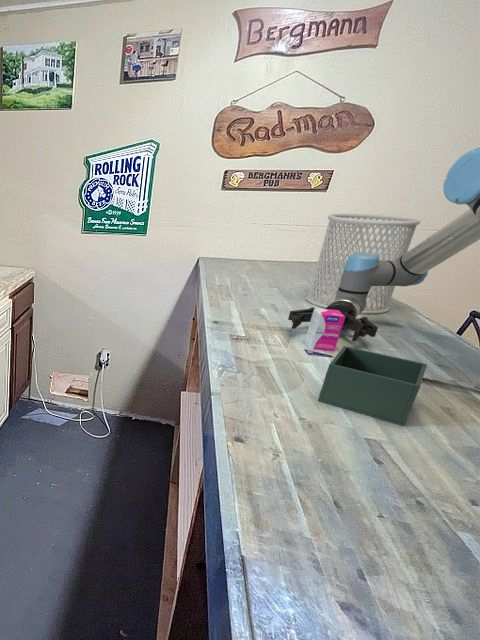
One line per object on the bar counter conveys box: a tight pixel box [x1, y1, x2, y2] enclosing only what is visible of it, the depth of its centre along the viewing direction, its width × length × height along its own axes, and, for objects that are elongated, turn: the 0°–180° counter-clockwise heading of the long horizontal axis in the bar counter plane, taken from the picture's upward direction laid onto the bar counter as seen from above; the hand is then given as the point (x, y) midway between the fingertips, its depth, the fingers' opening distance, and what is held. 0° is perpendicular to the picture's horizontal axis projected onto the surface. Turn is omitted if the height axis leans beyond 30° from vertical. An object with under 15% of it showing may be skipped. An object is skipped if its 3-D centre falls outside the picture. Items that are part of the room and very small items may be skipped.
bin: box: [317, 345, 428, 427], centre depth 96 cm, size 14×14×9 cm
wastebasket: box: [305, 212, 421, 315], centre depth 158 cm, size 25×25×30 cm
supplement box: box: [304, 307, 345, 358], centre depth 120 cm, size 6×6×12 cm
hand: (323, 330), depth 120 cm, fingers open, 13 cm apart
